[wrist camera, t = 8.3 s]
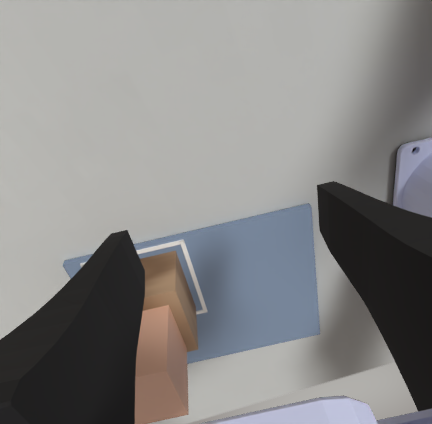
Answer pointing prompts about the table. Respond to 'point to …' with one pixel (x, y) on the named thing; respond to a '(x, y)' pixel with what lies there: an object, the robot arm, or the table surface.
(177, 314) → the walnut block
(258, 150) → the table surface
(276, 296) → the blueprint plate
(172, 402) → the terracotta block
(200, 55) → the table surface
